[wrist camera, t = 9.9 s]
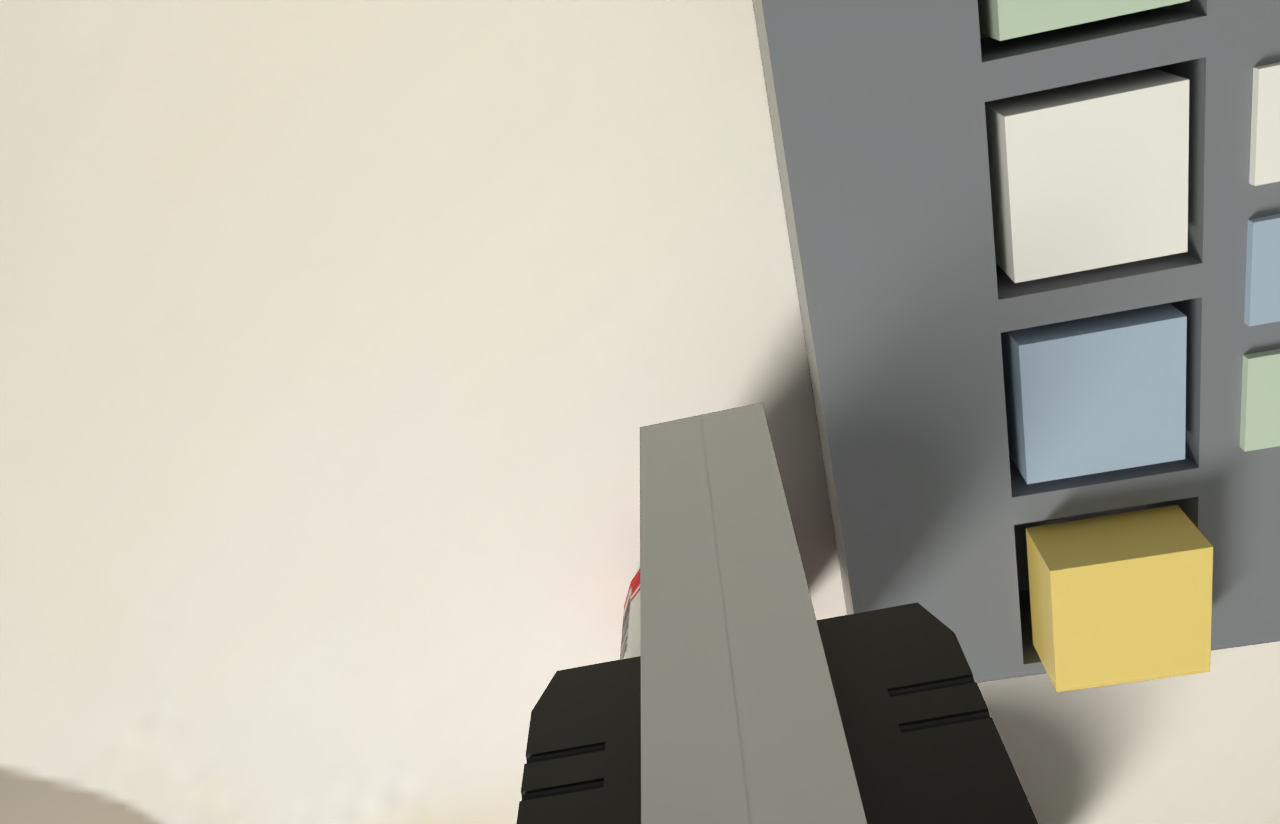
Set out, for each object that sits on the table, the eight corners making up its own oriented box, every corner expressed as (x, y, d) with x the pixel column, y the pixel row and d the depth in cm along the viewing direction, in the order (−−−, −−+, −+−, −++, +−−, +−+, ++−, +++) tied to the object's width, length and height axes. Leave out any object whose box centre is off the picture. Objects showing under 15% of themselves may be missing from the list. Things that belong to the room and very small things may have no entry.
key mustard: (1032, 644, 35) (1056, 692, 32) (1025, 528, 33) (1050, 571, 31) (1176, 623, 34) (1209, 671, 32) (1177, 504, 32) (1213, 546, 30)
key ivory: (991, 257, 31) (1014, 283, 29) (980, 102, 29) (1004, 116, 27) (1151, 228, 30) (1187, 251, 28) (1150, 67, 28) (1189, 79, 26)
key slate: (1005, 448, 34) (1027, 484, 31) (995, 316, 32) (1018, 345, 30) (1152, 423, 33) (1185, 459, 31) (1151, 288, 31) (1186, 316, 29)
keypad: (847, 617, 39) (868, 703, 35) (730, -140, 29) (739, -151, 24) (1291, 552, 37) (1371, 634, 33) (1344, -286, 27) (1472, -327, 22)
